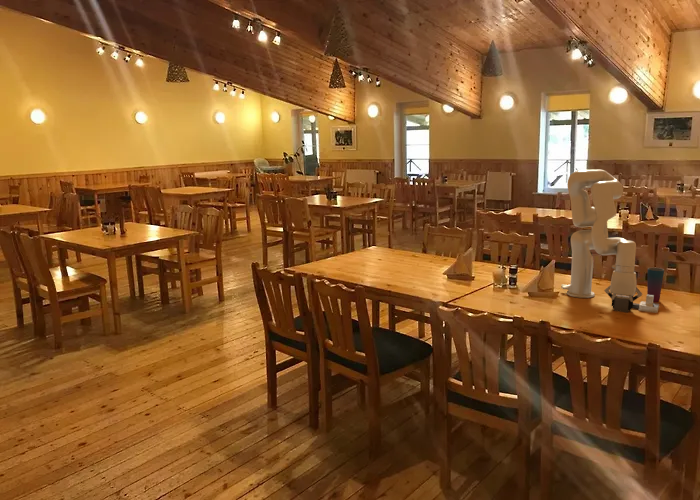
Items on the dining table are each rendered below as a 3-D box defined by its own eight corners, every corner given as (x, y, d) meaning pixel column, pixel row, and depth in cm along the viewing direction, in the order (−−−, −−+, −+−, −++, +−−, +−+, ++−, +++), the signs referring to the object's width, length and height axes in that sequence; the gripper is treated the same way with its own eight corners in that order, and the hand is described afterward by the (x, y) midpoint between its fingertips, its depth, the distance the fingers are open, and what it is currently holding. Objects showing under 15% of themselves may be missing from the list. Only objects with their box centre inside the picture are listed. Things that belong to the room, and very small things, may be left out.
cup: (663, 302, 269) (666, 270, 267) (647, 302, 271) (650, 270, 268) (659, 298, 276) (661, 267, 273) (643, 298, 277) (645, 267, 274)
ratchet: (611, 306, 264) (612, 292, 263) (614, 303, 270) (615, 289, 269) (657, 313, 254) (658, 298, 253) (658, 308, 260) (660, 294, 259)
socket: (613, 310, 258) (614, 297, 257) (616, 307, 263) (616, 294, 262) (627, 312, 255) (628, 299, 254) (629, 309, 260) (630, 296, 259)
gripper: (602, 268, 257) (599, 308, 261) (645, 272, 248) (642, 313, 252) (605, 265, 264) (602, 304, 267) (647, 269, 254) (644, 309, 258)
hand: (621, 308), depth 259 cm, fingers closed on socket, 5 cm apart
